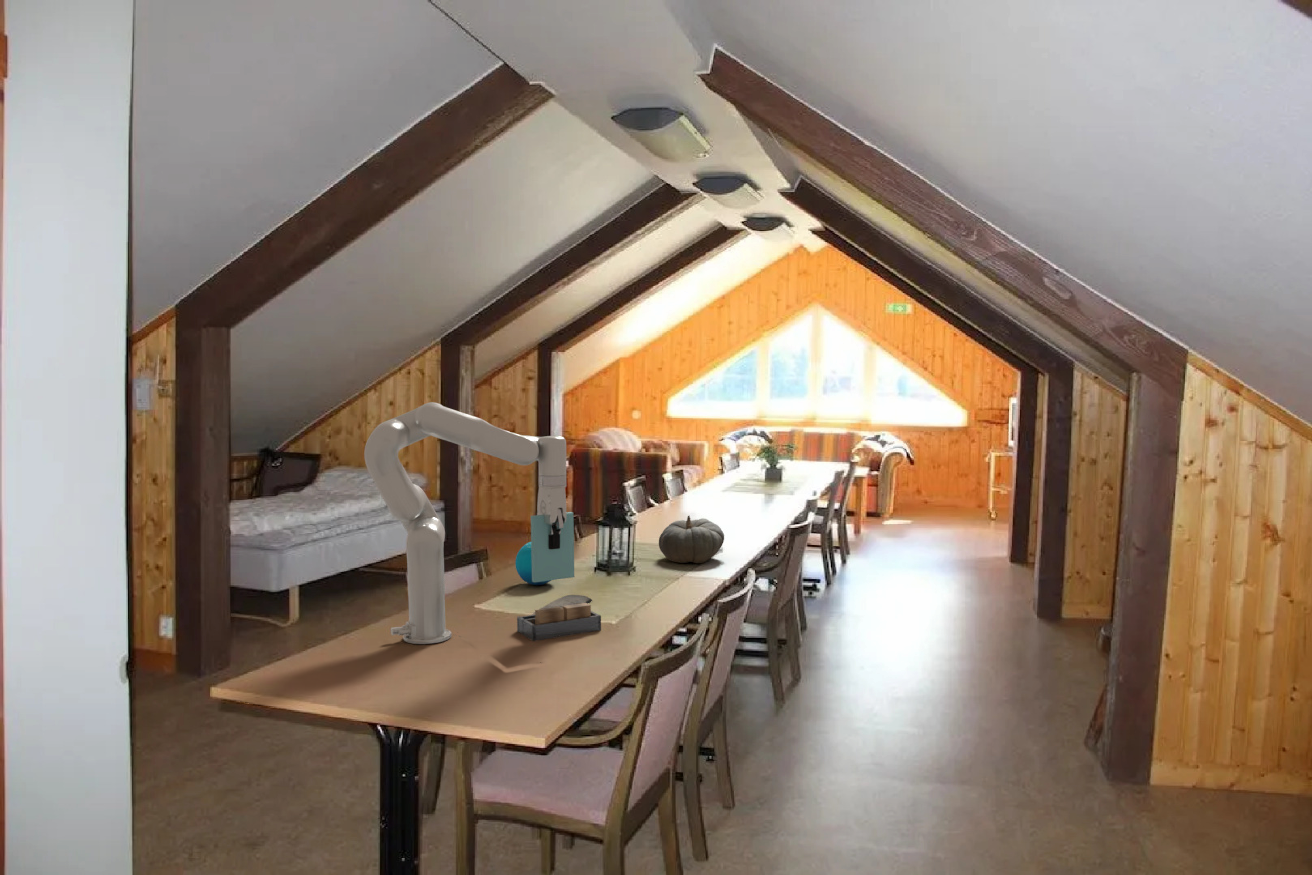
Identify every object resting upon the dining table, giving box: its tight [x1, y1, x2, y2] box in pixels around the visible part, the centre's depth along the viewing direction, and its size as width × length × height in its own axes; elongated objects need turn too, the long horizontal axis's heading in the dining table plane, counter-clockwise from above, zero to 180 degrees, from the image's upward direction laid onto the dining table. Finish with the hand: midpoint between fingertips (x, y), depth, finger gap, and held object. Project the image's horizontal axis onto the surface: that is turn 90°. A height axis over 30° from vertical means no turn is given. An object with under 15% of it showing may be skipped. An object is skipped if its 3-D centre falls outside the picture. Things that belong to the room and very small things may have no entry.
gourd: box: [658, 515, 725, 564], centre depth 357 cm, size 25×25×17 cm
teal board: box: [530, 511, 575, 582], centre depth 258 cm, size 12×2×18 cm, turn 120°
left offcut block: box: [534, 607, 564, 625], centre depth 252 cm, size 7×3×7 cm, turn 120°
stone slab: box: [531, 594, 593, 615], centre depth 282 cm, size 10×3×30 cm
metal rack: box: [516, 610, 602, 642], centre depth 257 cm, size 20×11×5 cm, turn 120°
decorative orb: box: [515, 541, 552, 586], centre depth 317 cm, size 15×15×15 cm
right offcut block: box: [563, 603, 592, 620], centre depth 256 cm, size 7×3×7 cm, turn 120°
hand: (552, 547), depth 258 cm, fingers closed on teal board, 1 cm apart
